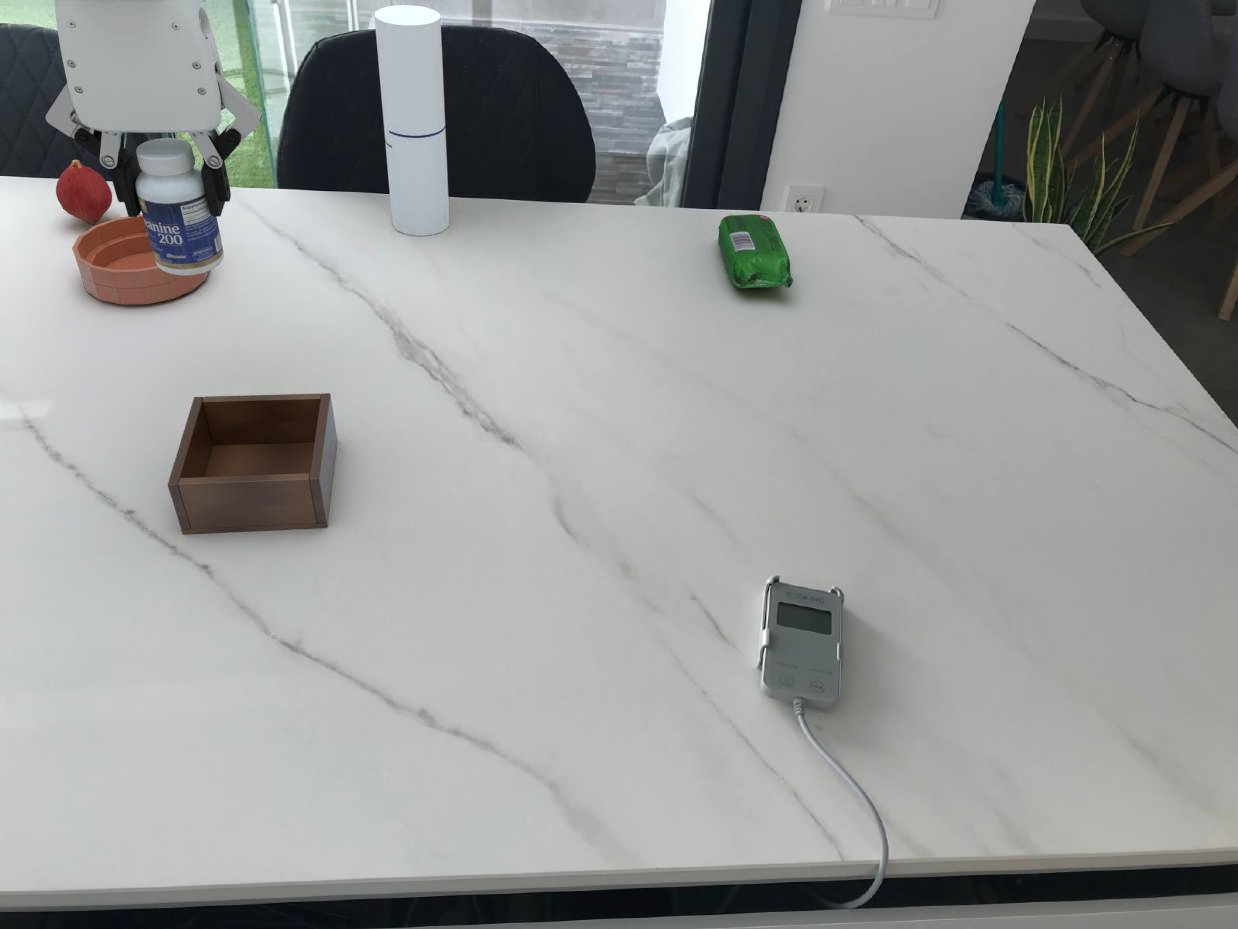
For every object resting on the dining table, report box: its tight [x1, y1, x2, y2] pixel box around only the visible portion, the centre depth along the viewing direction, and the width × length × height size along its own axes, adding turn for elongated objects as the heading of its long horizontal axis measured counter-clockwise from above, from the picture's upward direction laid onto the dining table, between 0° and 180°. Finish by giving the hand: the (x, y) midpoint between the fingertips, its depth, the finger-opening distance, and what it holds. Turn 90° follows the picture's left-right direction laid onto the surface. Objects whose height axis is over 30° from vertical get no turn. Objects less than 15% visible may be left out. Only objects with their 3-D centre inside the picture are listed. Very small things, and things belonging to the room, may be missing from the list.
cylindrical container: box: [373, 4, 450, 237], centre depth 116 cm, size 7×7×25 cm
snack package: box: [717, 213, 795, 289], centre depth 119 cm, size 7×16×5 cm, turn 4°
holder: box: [167, 392, 338, 535], centre depth 84 cm, size 12×12×6 cm
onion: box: [55, 159, 113, 225], centre depth 116 cm, size 6×6×8 cm
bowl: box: [71, 213, 210, 305], centre depth 109 cm, size 13×13×4 cm
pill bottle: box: [135, 137, 225, 275], centre depth 78 cm, size 5×5×10 cm
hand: (177, 206), depth 78 cm, fingers closed on pill bottle, 5 cm apart
